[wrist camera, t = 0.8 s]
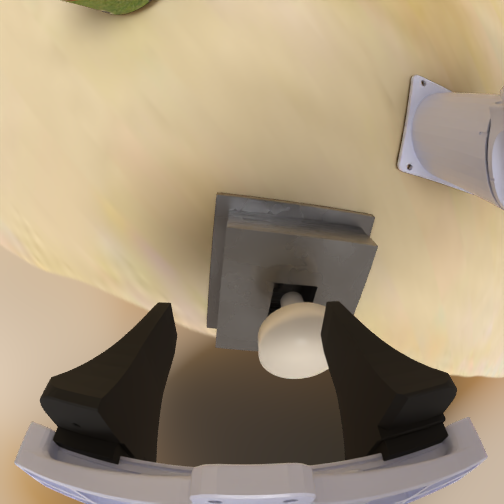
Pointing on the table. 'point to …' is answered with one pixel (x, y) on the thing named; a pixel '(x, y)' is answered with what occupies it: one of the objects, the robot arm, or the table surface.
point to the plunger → (293, 339)
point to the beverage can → (112, 5)
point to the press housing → (281, 261)
